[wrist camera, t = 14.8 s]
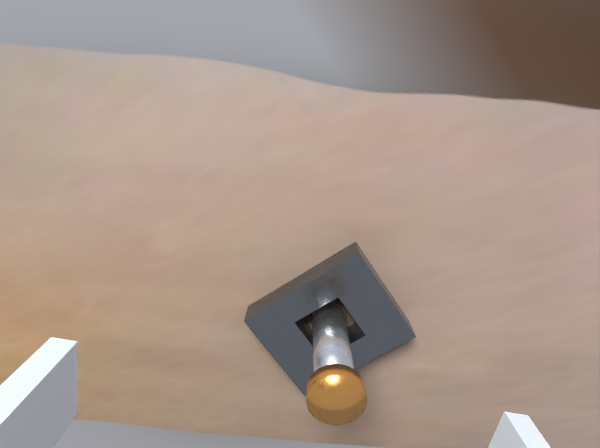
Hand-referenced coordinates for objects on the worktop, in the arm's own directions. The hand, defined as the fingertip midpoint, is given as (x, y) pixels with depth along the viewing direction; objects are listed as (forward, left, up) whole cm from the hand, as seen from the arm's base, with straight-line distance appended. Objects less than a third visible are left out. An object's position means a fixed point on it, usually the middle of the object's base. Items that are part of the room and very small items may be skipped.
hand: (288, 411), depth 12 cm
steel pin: (+13, -5, -28) cm, 32 cm away
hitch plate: (+13, -5, -28) cm, 32 cm away
